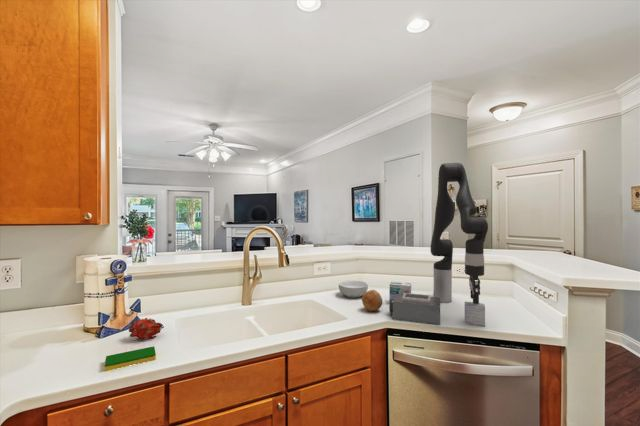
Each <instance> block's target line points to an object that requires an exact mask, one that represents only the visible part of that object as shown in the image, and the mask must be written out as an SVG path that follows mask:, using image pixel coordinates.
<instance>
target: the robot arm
mask: <svg viewBox="0 0 640 426" xmlns="http://www.w3.org/2000/svg"><path fill="white" fill-rule="evenodd" d="M437 178H438V180H437V181H438V185H437V197H436V205H435V212H434V225H433V231H432V235H431V236H432V237H431V241H430V253H431V255H432V256H434V257H443V258H442V259H440V260H438V261H435V262H434V263H433V297H439V298H440V303H451V302H452V298H453V295H452V291H453V290H452V288H453V287H452V286H453V285H452V284H453V282H452V281H453V280H452V279H453V277H452V276H453V256H454V255H453V252H454V251H453V250H454V247H453V246H454V245H453V242H452V240H451V239H448V238H444V239H441V236H442V235H443V233H444V232H445V231H446V229H448V227H449V226H450V225H451V223H453V221H454V218H455V213H456V212H455V211H456V207H457V209H458V212H459V215H460V216H459V218H460V229H461V231H462V232H463V233H465V234H467V235H473V234H474V237H473V238H470V239H467V240H466V241H465V246H464V247H465V255H464V274H465V275H467V276H469V277H468V281H469V283H468V284H469V290H470V299H472V302H473V304H479V303H480V295H481V280H480V278H479V277H482V276H485V256H484V254H485V253H484V244H485V241H486V236H487V234H488V230H489V223H488V221H487V220H486V219H485V218H484V217H474V216H475V215H476V214H477V212H478V209H477V207H476V203H475V202H474V199H473V198H472V194H471V191H470V186H469V182H468V177H467V172H466V169H465V166H464V165H463V164H462V163H459V162H449V163H448V162H447V163H441V164H440V166H439V170H438V177H437ZM456 182H457V183H458V187H459V188H458V191H457V193H456V196H455V203H456V204H455V203H454V201H453V199H452V197H451V196H450V193H449V190H448V183H456Z"/></svg>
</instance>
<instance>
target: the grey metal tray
mask: <svg viewBox="0 0 640 426" xmlns="http://www.w3.org/2000/svg"><path fill="white" fill-rule="evenodd" d="M388 306H389V308H388V309H389V313H392V320H394V319H395V321H396V320H397V321H403V322H404V321H405V322H411V323H412V322H413V323H420V324H427V325H428V324H430V325H436V326H437V325H439V326H441V302H440V298H439V297H434V296H431V294H421V293H412V292H411V293H404V294H396V295H395V297H394V299H390V304H389V305H388Z"/></svg>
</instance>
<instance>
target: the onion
mask: <svg viewBox="0 0 640 426" xmlns="http://www.w3.org/2000/svg"><path fill="white" fill-rule="evenodd" d="M361 297H362V298H361V301H362V306H363V307H364V308H365V309H366V310H367V311H369V312H375V311H378V310H379V309H380V308H381V307H382V305H383V298H382V296H381V294H380V293H379V291H377V290H375V289H370V290H367V292H366V293H365V294H364V295H362V296H361Z"/></svg>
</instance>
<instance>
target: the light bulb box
mask: <svg viewBox="0 0 640 426" xmlns="http://www.w3.org/2000/svg"><path fill="white" fill-rule="evenodd" d="M404 293H411V294H412V283H411V282H402V281H401V282H400V281H393V280H392V281H391V282H390V283H389V295H388V296H389V301H388V302H389V304H390V299H394V297H395V295H396V294H404Z"/></svg>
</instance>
